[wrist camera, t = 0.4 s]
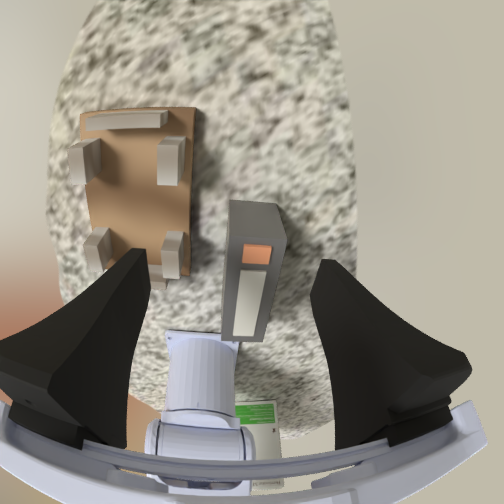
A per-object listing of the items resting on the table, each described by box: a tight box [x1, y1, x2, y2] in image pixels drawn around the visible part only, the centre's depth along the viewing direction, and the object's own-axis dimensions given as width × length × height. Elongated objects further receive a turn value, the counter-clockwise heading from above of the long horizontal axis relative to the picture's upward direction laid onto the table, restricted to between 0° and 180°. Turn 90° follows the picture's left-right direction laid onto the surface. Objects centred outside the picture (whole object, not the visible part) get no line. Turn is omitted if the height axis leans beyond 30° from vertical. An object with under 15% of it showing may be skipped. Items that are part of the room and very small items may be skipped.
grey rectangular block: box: [221, 200, 288, 342], centre depth 21 cm, size 10×3×5 cm, turn 173°
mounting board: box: [67, 107, 196, 290], centre depth 17 cm, size 13×8×4 cm, turn 173°
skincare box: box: [235, 400, 284, 490], centre depth 35 cm, size 8×7×16 cm
